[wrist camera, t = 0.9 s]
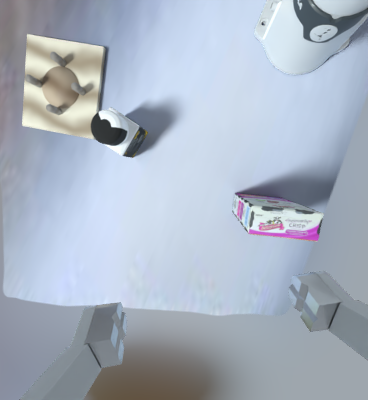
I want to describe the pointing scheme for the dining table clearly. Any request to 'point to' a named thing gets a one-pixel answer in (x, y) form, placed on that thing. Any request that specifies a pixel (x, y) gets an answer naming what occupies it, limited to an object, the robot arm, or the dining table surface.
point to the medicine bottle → (117, 132)
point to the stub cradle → (62, 85)
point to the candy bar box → (277, 217)
